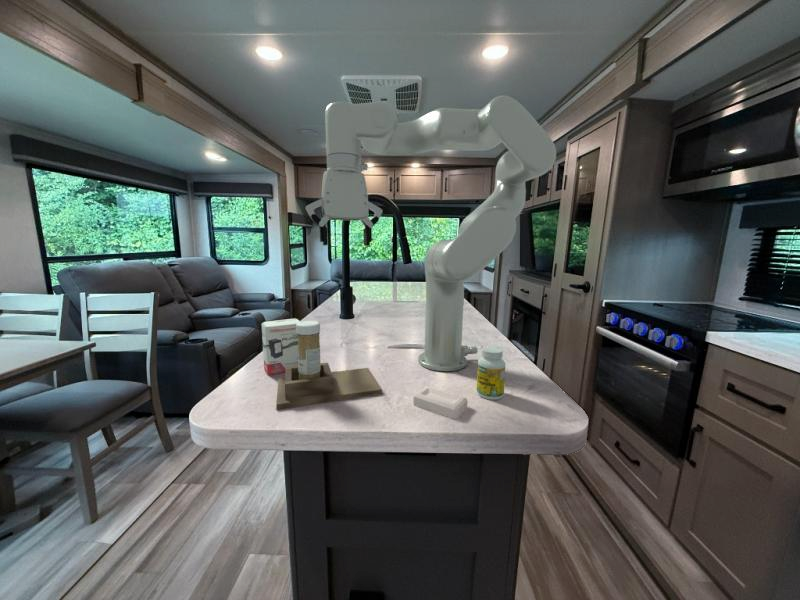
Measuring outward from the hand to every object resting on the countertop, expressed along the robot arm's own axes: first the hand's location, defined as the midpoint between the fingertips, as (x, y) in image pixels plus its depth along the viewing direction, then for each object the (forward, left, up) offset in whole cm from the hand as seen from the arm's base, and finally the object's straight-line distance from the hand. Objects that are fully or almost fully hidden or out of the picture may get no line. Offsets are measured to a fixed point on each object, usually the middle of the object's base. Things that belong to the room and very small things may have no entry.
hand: (346, 245), depth 70 cm
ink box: (+15, -4, -30) cm, 34 cm away
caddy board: (+6, +10, -30) cm, 32 cm away
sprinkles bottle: (+10, +10, -29) cm, 32 cm away
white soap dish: (-13, +23, -31) cm, 41 cm away
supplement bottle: (-25, +23, -30) cm, 45 cm away
